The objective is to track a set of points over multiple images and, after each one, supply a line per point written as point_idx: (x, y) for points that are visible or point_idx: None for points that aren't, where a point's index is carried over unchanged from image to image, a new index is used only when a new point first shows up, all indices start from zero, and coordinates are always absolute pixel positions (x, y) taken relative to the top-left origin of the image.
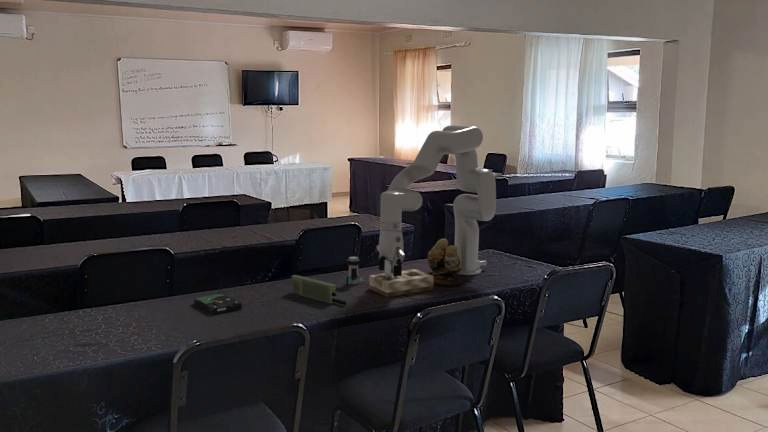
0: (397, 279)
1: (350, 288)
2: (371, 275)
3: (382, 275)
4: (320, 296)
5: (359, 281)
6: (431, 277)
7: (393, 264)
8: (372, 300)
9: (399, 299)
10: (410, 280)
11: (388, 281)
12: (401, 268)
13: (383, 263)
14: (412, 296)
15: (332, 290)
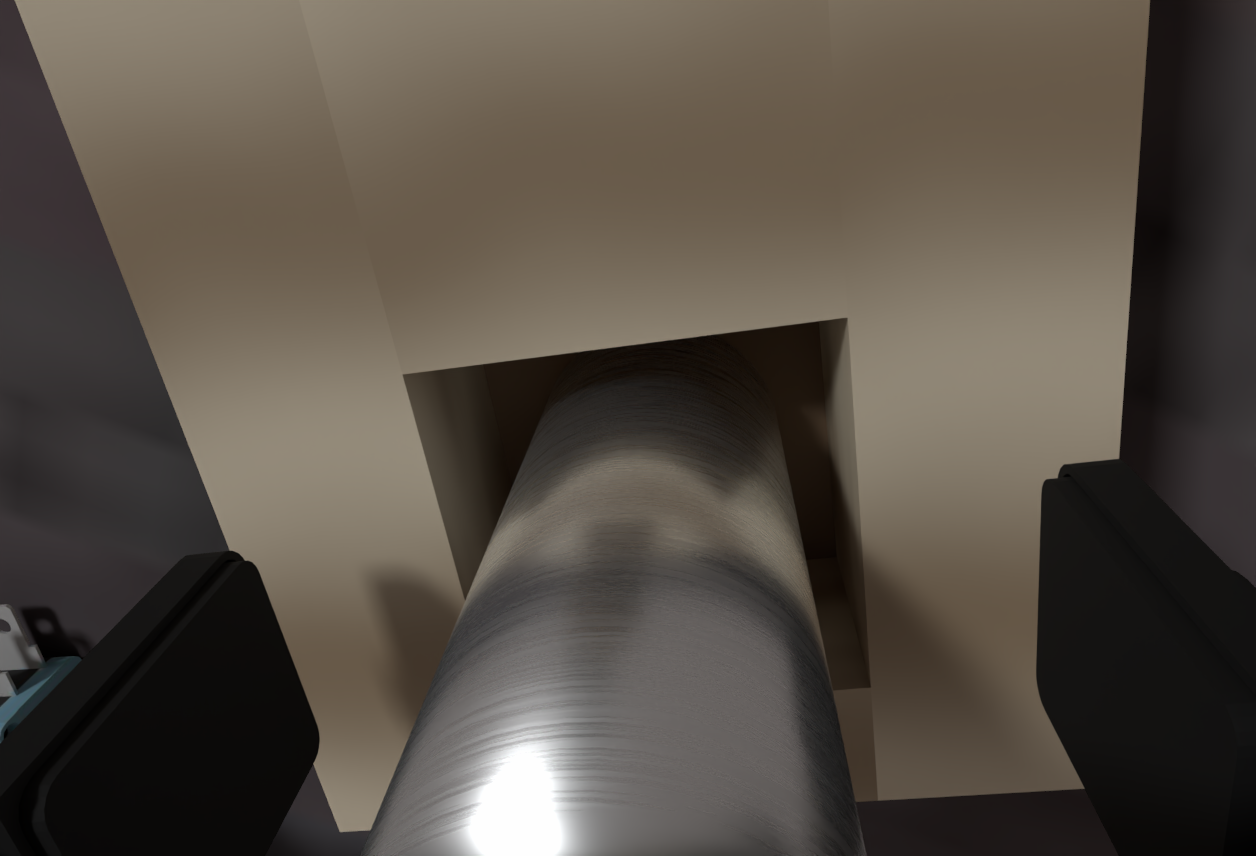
0: (921, 451)
1: (338, 843)
2: (349, 803)
3: (407, 617)
4: None
5: (59, 679)
6: None
7: (862, 846)
8: (1040, 823)
9: (1251, 464)
10: (1132, 88)
11: (986, 711)
12: (1249, 599)
13: (191, 815)
14: (1239, 133)
15: None
